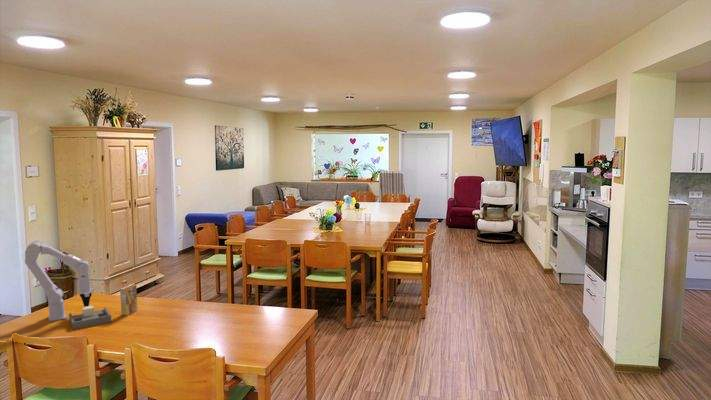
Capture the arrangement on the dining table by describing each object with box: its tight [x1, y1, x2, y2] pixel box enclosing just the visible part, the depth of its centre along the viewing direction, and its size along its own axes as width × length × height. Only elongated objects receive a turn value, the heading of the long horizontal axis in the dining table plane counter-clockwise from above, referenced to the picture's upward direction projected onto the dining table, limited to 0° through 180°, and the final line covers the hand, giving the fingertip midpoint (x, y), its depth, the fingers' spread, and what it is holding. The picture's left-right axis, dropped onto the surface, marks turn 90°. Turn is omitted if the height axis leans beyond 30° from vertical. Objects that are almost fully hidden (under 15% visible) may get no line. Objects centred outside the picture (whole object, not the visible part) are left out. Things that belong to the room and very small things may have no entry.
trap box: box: [68, 306, 112, 330], centre depth 266 cm, size 17×18×4 cm
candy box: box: [119, 283, 139, 316], centre depth 277 cm, size 9×4×15 cm, turn 166°
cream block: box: [81, 305, 95, 317], centre depth 270 cm, size 5×5×4 cm
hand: (86, 306), depth 276 cm, fingers closed
